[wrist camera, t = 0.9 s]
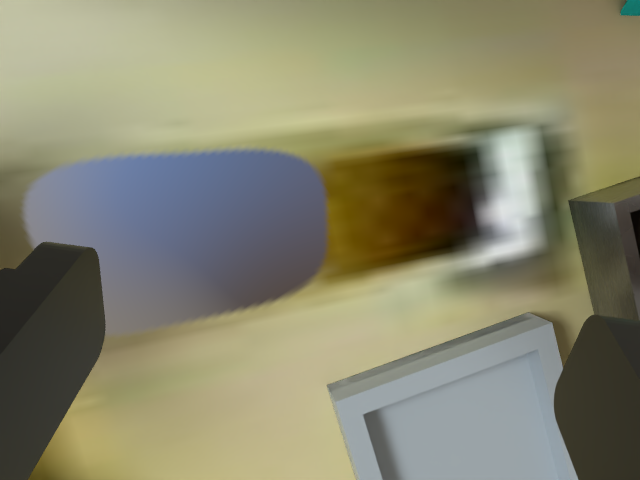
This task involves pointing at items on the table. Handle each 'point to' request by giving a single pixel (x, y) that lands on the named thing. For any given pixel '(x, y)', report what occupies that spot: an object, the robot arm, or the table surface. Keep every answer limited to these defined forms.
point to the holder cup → (610, 248)
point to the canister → (636, 227)
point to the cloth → (631, 8)
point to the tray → (460, 409)
